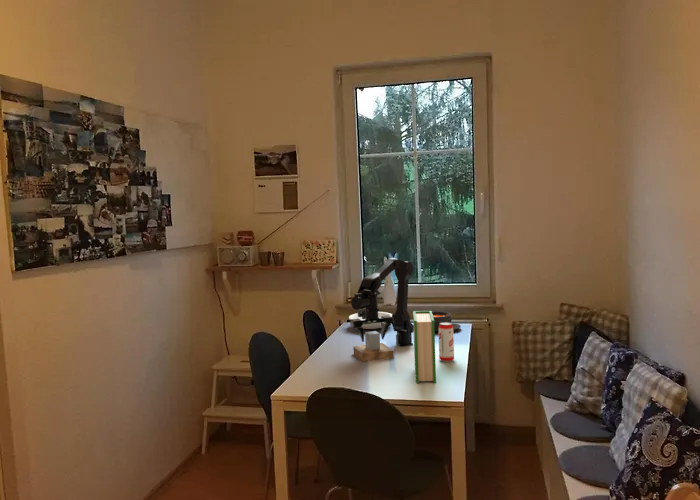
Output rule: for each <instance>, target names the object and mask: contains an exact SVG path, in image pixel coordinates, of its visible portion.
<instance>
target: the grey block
mask: <svg viewBox="0 0 700 500" xmlns="http://www.w3.org/2000/svg"><path fill="white" fill-rule="evenodd" d="M364 342H365V345H366V348H367V349H368V350H376V349H380V343H381V334H380V332H378V331H376V330H373V331H365V332H364Z"/></svg>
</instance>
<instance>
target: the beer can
mask: <svg viewBox="0 0 700 500" xmlns="http://www.w3.org/2000/svg"><path fill="white" fill-rule="evenodd" d="M452 323H453V322H451V323H450V322H441V323H440V325H439V332H438V354H439V355H438V356H439V357H438V358H439V360H440V361H441V362H442V361H443V363H450V361H451V362H453V361H454V359H455V343H454V341H455V339H454V337H455V336H454V330H453V326H452ZM452 360H453V361H452Z"/></svg>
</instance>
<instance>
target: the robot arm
mask: <svg viewBox="0 0 700 500" xmlns="http://www.w3.org/2000/svg"><path fill="white" fill-rule="evenodd" d="M413 270H414V265H413V263H412V262H411V261H408V260H407V261H406V260H405V261H404V260H401V259H399V258H391V257H390V258H388V259H387V260H386V262H384V264H383V265H382V266H380V267H379V268H378V269H377V270H376V271H375V272H374V273H371V274H368V275H367V276H364V277H363V278H362V280H361V283H360V285H359V288H358V290H357V293H354V294H353V295H354V296H353V297H352V298H351V301H350V305H351V307H352V308H353V309H354V310H356V311H357V313H358V317H362V319H366V320H360V319H351V320H349V322H350V327H353V328H354V329H356V330H357V332H358V335H359V336H360V339H361V342H362V343H363V342H365V332H364V329H363V327H362V325H363V324H372V323H380V322H381V326H382V327H381V334H380V338H381V340H384V338H385V336H386V334H387V331H388V330H389V328H390V327H391V326H392V329H393V332H396V335H395V344H397V345H398V346H400V347H405V346H414V342H412V339H413V337H412V334H414V326H413V323H412V322H411V316H410V313H409V312H408V300H409V299H408V298H409V297H408V296H409V280H410V279H411V277H412V275H413ZM393 271H394V276H395V278H396V279H397V291H396V293H397V295H396V296H397V297H396V310H395V312H394V313H391V314H392V317H391V316H389V315H386V316H382V317H381V318H378V312H380V309H379V300H378V297H379V295H381V292H380V291H379V290H380V287H382V283H383V281H384V279H386V278H387V277H388V276H389V275H390V274H391V273H392V272H393ZM368 321H369V322H368ZM370 321H371V322H370Z"/></svg>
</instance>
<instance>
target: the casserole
mask: <svg viewBox="0 0 700 500" xmlns="http://www.w3.org/2000/svg"><path fill="white" fill-rule="evenodd" d="M431 311H432V310H431ZM432 314H433V318H434V330H435V333H439V325H440V323H441V322H450V323H452V326H453V331H455V330H458V329H460V328H461V325H460V324H459V323H453V322H452V320H453V318H454V317H453V316H452V314H451V313H450V312H447V311H437V310H436V311H435V310H434V311H432Z"/></svg>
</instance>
